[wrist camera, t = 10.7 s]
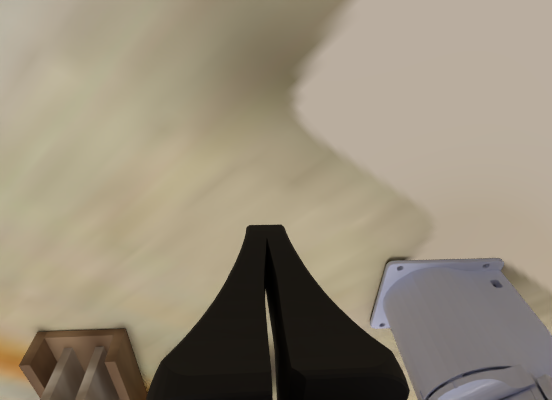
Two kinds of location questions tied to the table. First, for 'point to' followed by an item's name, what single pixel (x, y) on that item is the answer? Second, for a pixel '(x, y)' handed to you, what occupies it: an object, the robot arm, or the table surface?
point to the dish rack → (83, 366)
